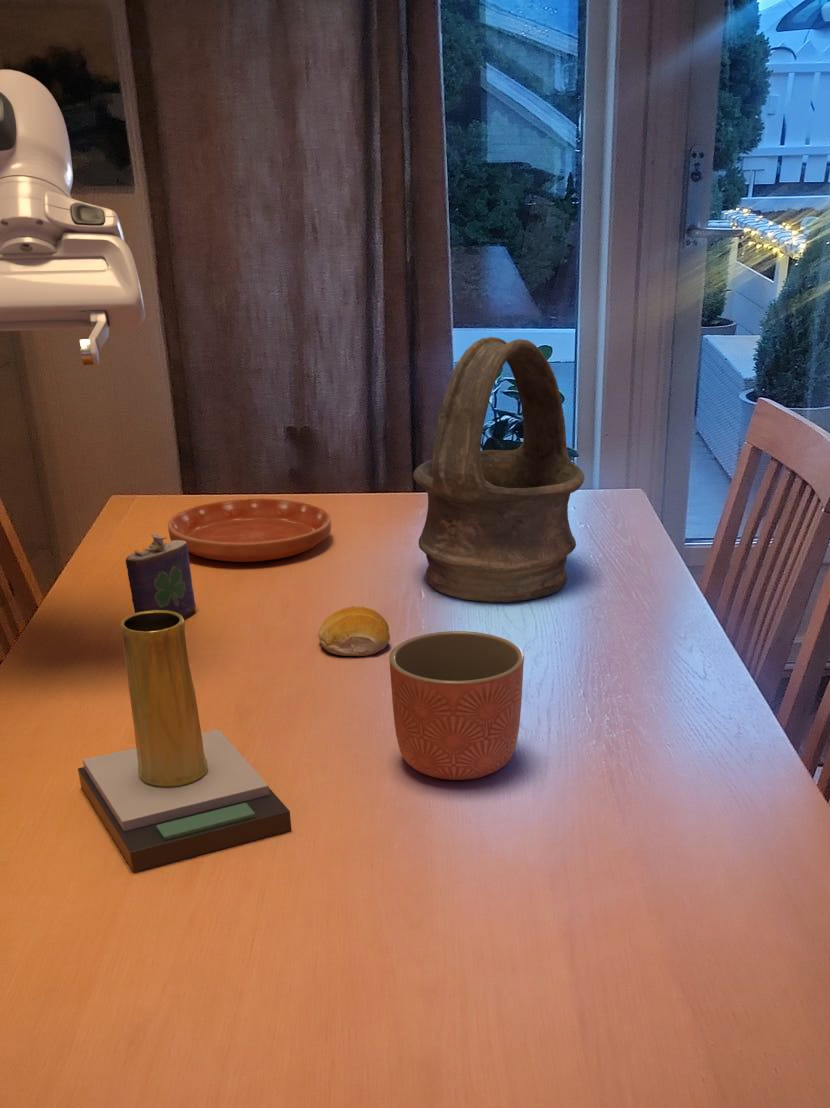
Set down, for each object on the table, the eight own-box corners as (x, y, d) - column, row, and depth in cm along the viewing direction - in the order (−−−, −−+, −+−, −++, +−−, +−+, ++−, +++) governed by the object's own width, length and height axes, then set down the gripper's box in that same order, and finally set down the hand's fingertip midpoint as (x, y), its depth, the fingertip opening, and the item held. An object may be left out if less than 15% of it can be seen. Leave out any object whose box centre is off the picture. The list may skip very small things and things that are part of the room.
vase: (159, 795, 106) (136, 639, 99) (126, 770, 110) (101, 619, 103) (221, 773, 110) (202, 622, 102) (186, 750, 114) (166, 602, 106)
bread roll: (387, 628, 148) (386, 596, 146) (391, 656, 141) (390, 623, 138) (318, 630, 147) (316, 598, 145) (319, 659, 140) (316, 626, 138)
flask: (186, 607, 154) (175, 523, 148) (203, 612, 152) (193, 527, 147) (131, 630, 147) (117, 543, 142) (149, 635, 146) (136, 547, 140)
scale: (133, 872, 101) (128, 841, 100) (81, 787, 114) (75, 758, 112) (291, 830, 107) (289, 800, 105) (225, 753, 120) (222, 725, 118)
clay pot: (615, 585, 161) (631, 341, 146) (469, 621, 150) (469, 361, 135) (518, 542, 177) (522, 318, 161) (378, 571, 166) (368, 333, 150)
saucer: (201, 517, 187) (199, 493, 185) (348, 524, 184) (347, 499, 182) (146, 565, 168) (143, 539, 166) (309, 573, 165) (307, 546, 163)
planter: (420, 802, 111) (418, 691, 106) (375, 746, 121) (370, 641, 115) (543, 776, 116) (546, 669, 110) (490, 724, 125) (490, 623, 120)
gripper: (-96, 213, 113) (-91, 345, 110) (133, 211, 116) (144, 338, 113) (-76, 261, 119) (-70, 387, 116) (141, 258, 122) (152, 380, 119)
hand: (38, 363), depth 115 cm, fingers open, 8 cm apart
